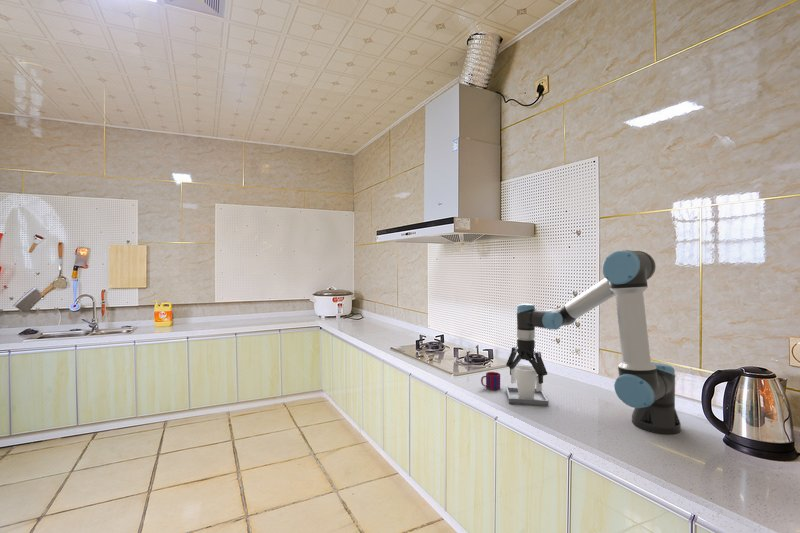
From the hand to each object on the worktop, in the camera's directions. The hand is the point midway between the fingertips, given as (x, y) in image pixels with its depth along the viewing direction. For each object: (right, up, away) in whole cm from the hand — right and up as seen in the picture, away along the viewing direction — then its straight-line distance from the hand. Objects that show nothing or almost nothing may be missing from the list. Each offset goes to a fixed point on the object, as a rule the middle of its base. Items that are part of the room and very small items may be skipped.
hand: (525, 386), depth 173 cm
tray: (0, -5, 0) cm, 5 cm away
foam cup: (0, -5, 0) cm, 5 cm away
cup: (-13, -5, +15) cm, 20 cm away
